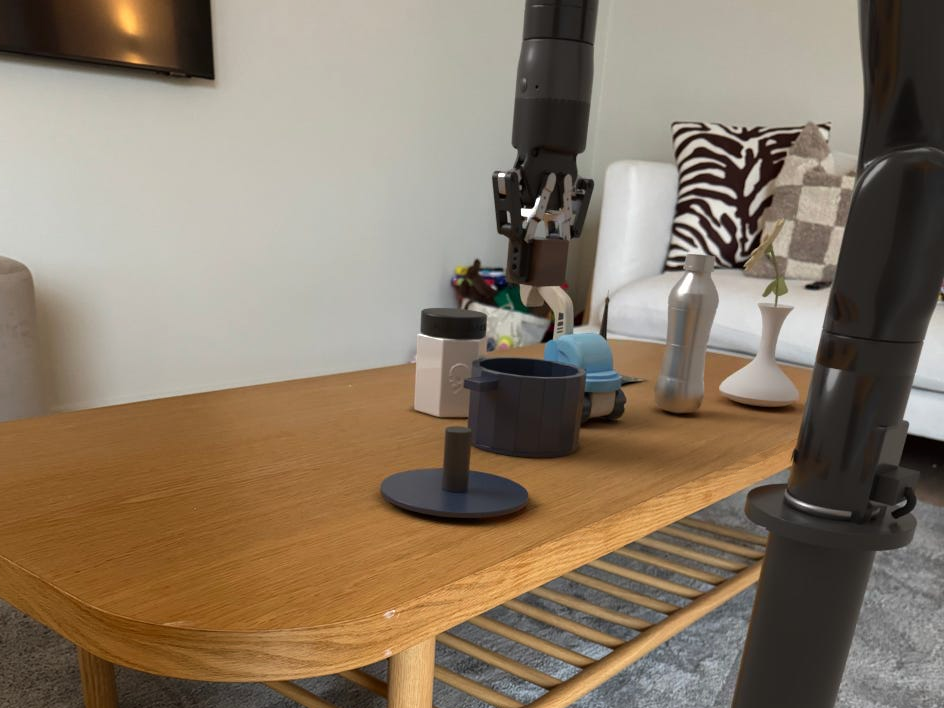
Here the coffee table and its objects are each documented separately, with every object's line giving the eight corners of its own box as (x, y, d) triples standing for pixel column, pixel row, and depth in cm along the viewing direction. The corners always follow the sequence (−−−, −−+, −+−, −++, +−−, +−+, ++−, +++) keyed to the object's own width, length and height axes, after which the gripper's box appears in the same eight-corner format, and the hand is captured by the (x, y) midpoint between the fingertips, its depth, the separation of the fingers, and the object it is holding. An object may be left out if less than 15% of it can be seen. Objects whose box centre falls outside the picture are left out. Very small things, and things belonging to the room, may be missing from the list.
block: (564, 285, 102) (569, 240, 100) (537, 286, 99) (541, 239, 97) (532, 280, 105) (536, 236, 103) (505, 281, 102) (508, 236, 100)
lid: (557, 506, 89) (565, 436, 86) (454, 535, 80) (459, 457, 77) (454, 471, 97) (458, 406, 94) (349, 493, 88) (350, 422, 85)
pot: (612, 444, 112) (623, 370, 108) (510, 467, 100) (517, 384, 96) (531, 422, 119) (538, 352, 116) (426, 440, 107) (430, 363, 104)
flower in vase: (742, 392, 147) (775, 216, 137) (810, 407, 140) (852, 222, 130) (695, 401, 139) (727, 213, 128) (766, 417, 132) (806, 220, 121)
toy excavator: (544, 397, 134) (557, 266, 127) (629, 424, 122) (650, 281, 115) (496, 401, 129) (507, 265, 122) (580, 429, 117) (598, 281, 110)
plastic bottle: (682, 420, 127) (709, 258, 118) (641, 409, 131) (664, 252, 122) (710, 415, 131) (738, 258, 122) (669, 405, 135) (694, 252, 126)
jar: (421, 418, 117) (426, 315, 112) (407, 403, 124) (411, 306, 119) (491, 418, 120) (499, 318, 114) (472, 404, 127) (479, 308, 121)
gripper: (535, 89, 87) (517, 287, 95) (626, 105, 97) (604, 284, 104) (475, 89, 92) (463, 278, 99) (568, 105, 101) (551, 276, 109)
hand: (535, 280), depth 102 cm, fingers closed on block, 4 cm apart
